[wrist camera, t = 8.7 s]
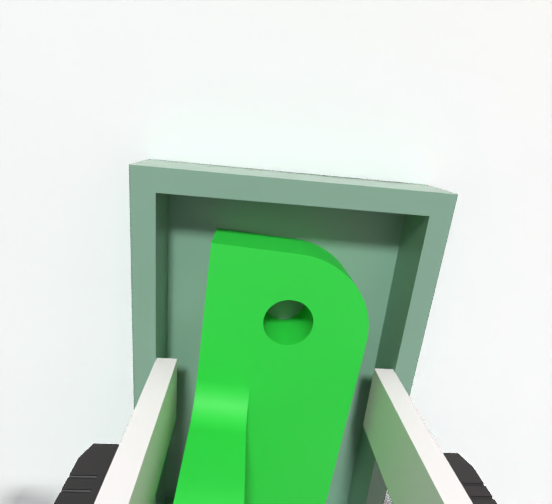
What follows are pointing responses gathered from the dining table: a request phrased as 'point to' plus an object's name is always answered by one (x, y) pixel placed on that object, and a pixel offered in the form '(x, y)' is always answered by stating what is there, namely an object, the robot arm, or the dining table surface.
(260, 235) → the mechanical part
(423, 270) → the tray
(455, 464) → the robot arm
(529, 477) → the dining table surface
